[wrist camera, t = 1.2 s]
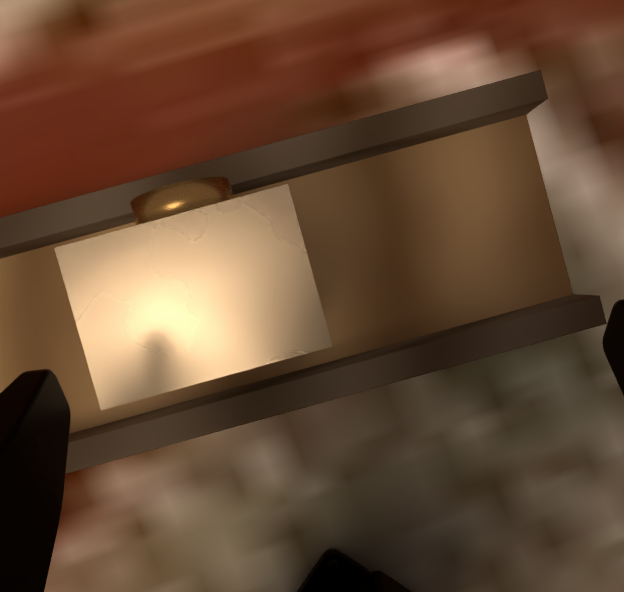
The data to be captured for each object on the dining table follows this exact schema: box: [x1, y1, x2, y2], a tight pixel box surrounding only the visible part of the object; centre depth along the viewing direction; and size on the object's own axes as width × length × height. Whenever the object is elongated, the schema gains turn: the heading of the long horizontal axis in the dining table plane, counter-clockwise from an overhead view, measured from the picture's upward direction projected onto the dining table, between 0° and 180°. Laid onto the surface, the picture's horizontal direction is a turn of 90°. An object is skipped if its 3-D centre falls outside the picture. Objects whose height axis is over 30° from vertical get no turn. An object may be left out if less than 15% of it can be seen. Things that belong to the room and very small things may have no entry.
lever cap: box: [54, 177, 332, 410], centre depth 17 cm, size 4×5×10 cm
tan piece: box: [0, 70, 607, 474], centre depth 22 cm, size 24×9×4 cm, turn 105°
